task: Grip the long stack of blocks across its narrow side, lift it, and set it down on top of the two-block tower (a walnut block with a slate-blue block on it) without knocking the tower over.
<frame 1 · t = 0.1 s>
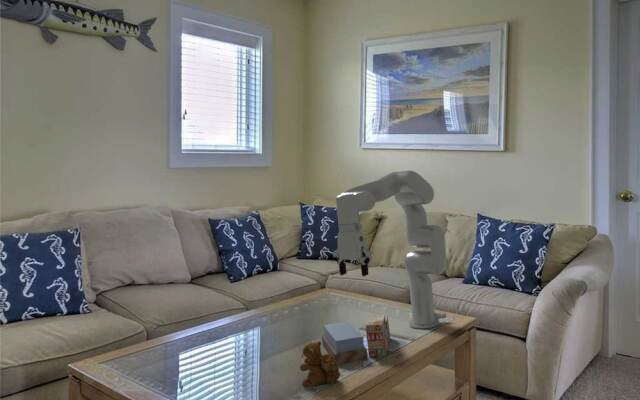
hand: (354, 275, 207), 31 cm above the table, tool pointing down, fingers open, 9 cm apart
walnut tower block: (344, 353, 218), on the table, touching slate-blue tower block
stuffed squirrel: (322, 382, 191), on the table
stack of blocks: (380, 347, 220), on the table
slate-blue tower block: (343, 342, 218), point 4 cm above the table, touching walnut tower block
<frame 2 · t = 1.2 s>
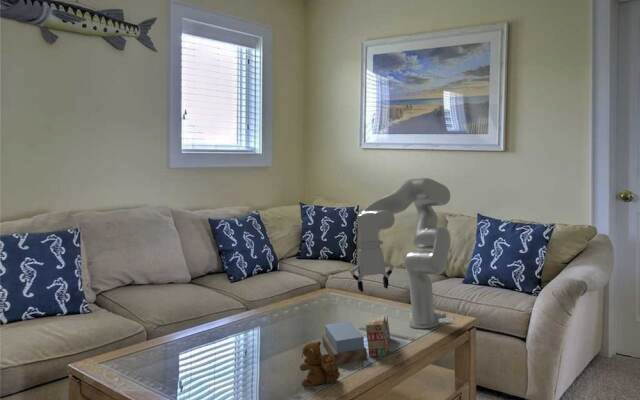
hand: (373, 289, 218), 23 cm above the table, tool pointing down, fingers open, 9 cm apart
nothing on the table moved.
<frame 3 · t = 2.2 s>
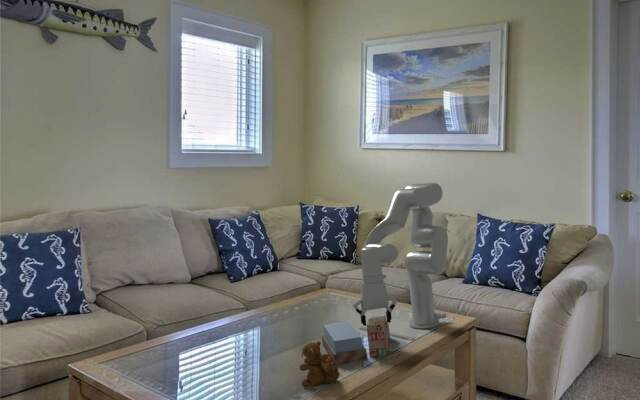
hand: (376, 323, 219), 9 cm above the table, tool pointing down, fingers open, 9 cm apart
nothing on the table moved.
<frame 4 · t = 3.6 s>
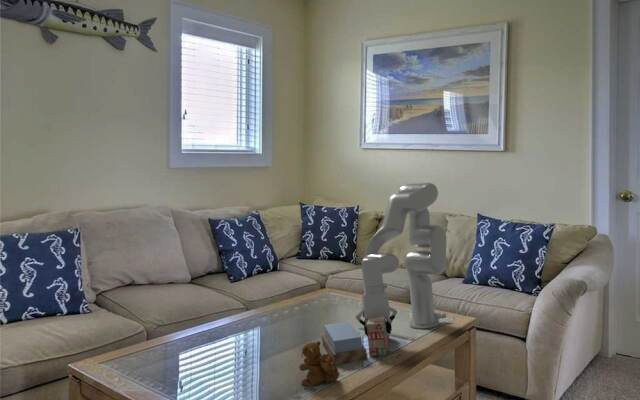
hand: (378, 334, 219), 5 cm above the table, tool pointing down, fingers closed on stack of blocks, 7 cm apart
stack of blocks: (380, 347, 220), on the table, touching gripper
everything else where it was.
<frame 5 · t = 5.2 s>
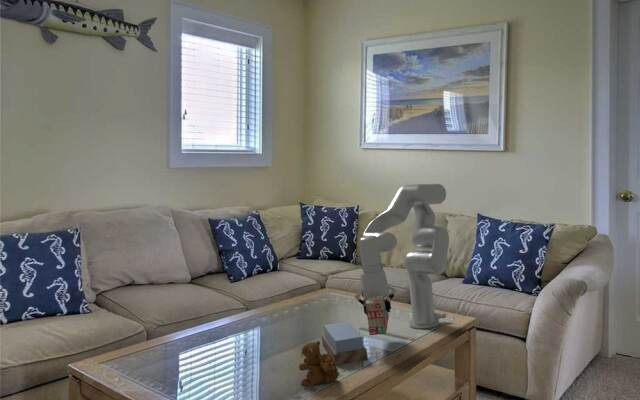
hand: (377, 313, 220), 13 cm above the table, tool pointing down, fingers closed on stack of blocks, 7 cm apart
stack of blocks: (379, 325, 221), point 8 cm above the table, touching gripper
everything else where it was.
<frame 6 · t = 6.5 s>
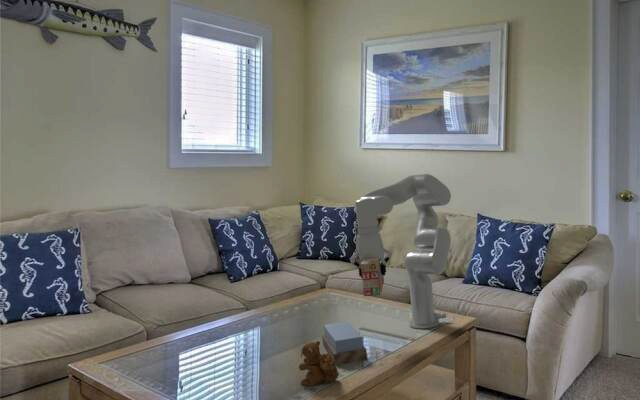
hand: (373, 276, 218), 28 cm above the table, tool pointing down, fingers closed on stack of blocks, 7 cm apart
stack of blocks: (374, 289, 219), point 22 cm above the table, touching gripper
everything else where it was.
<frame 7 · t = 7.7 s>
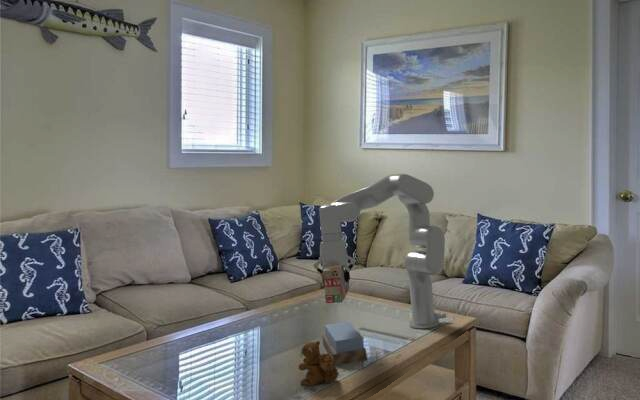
hand: (336, 283, 217), 27 cm above the table, tool pointing down, fingers closed on stack of blocks, 7 cm apart
stack of blocks: (338, 296, 218), point 22 cm above the table, touching gripper
everything else where it was.
when the fingers open (15 cm above the table, at t = 10.3 s): stack of blocks drops 2 cm, resting on slate-blue tower block.
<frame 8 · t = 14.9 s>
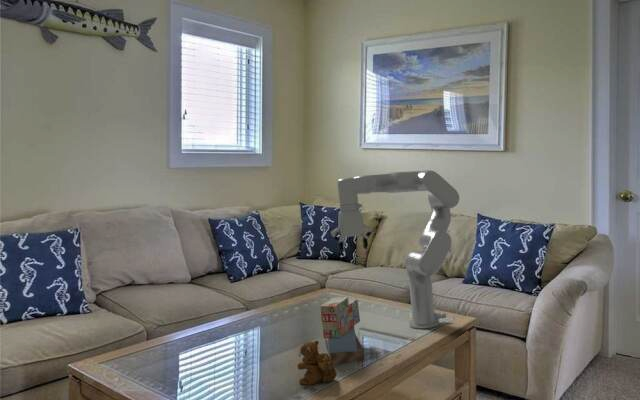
hand: (353, 250, 232), 36 cm above the table, tool pointing down, fingers open, 9 cm apart
stack of blocks: (342, 330, 219), point 8 cm above the table, touching slate-blue tower block
slate-blue tower block: (342, 342, 218), point 4 cm above the table, touching stack of blocks, walnut tower block
at the end: stack of blocks 1.7 cm off-centre on the slate-blue tower block, point 4.3 cm above the slate-blue tower block's base; slate-blue tower block 0.2 cm off-centre on the walnut tower block, point 4.5 cm above the walnut tower block's base; the gripper is holding nothing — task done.
